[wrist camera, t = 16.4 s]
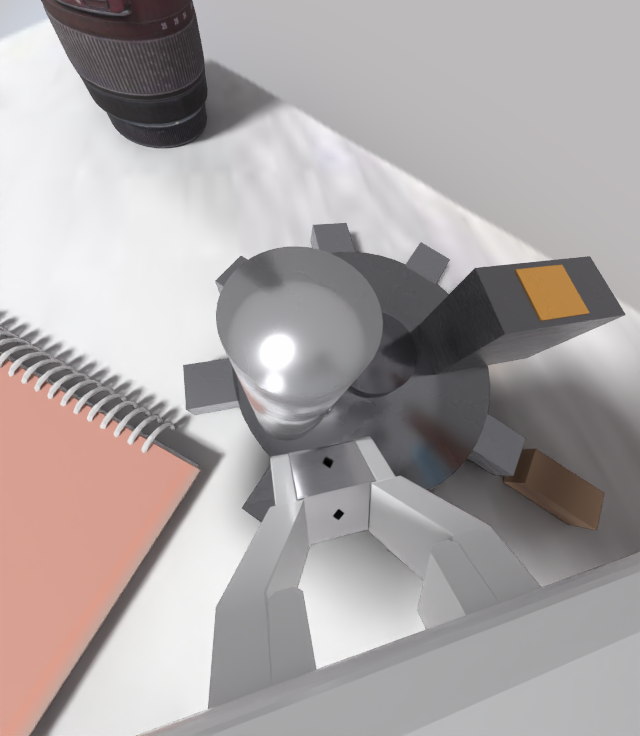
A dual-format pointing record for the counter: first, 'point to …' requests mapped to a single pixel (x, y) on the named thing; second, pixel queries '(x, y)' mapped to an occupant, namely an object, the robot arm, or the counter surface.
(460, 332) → the grey and orange block
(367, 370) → the sprocket
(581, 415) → the counter surface
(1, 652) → the notebook
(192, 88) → the camera lens
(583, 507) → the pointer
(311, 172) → the counter surface
